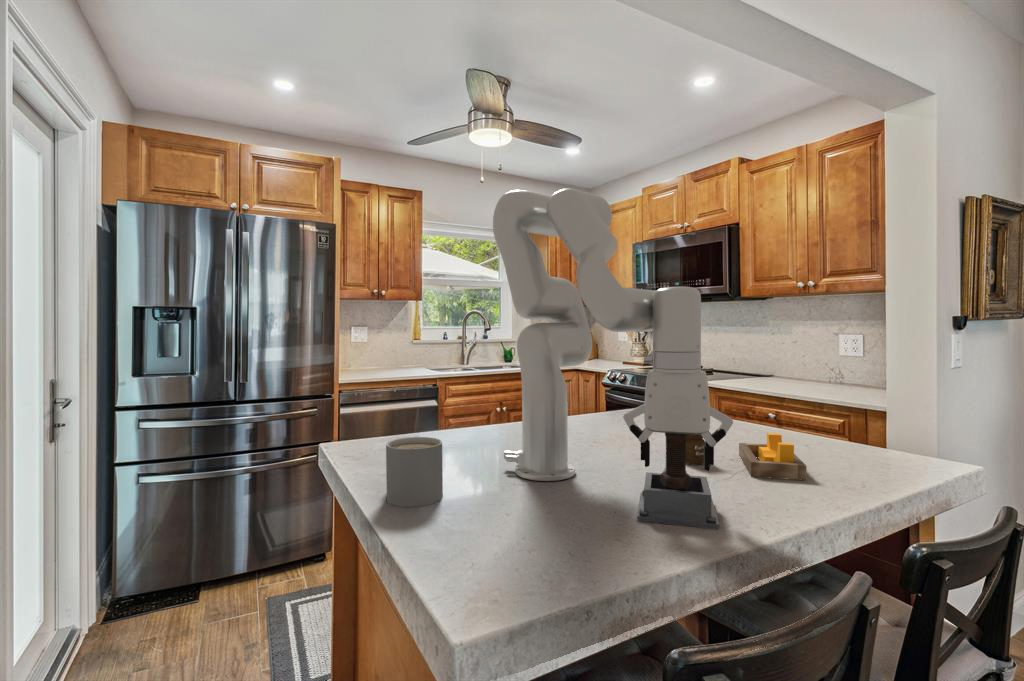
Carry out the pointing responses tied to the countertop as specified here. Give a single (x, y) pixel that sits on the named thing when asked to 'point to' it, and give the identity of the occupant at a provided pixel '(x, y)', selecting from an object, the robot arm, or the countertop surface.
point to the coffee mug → (414, 471)
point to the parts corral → (770, 464)
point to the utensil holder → (694, 449)
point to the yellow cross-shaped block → (776, 450)
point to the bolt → (675, 463)
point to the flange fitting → (677, 504)
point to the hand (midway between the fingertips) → (676, 466)
